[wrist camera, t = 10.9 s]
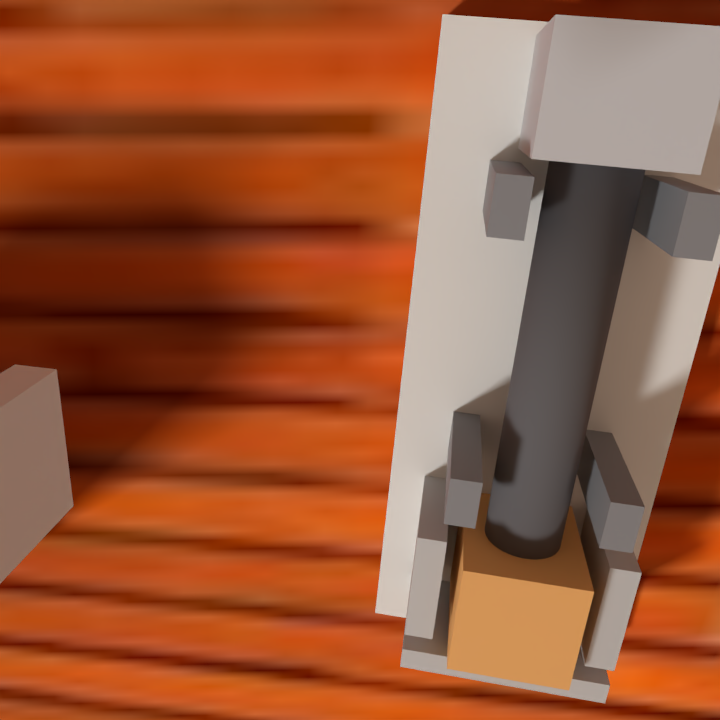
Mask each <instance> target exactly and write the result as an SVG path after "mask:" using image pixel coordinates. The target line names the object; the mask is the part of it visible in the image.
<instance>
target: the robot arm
mask: <svg viewBox="0 0 720 720" xmlns="http://www.w3.org/2000/svg"><path fill="white" fill-rule="evenodd" d="M73 506H74V505H73V497H72V489H71V481H70V473H69V464H68V456H67V448H66V440H65V432H64V424H63V416H62V408H61V400H60V392H59V384H58V376H57V369H50V368H41V367H32V366H24V365H13V366H12V367H10V368H8V369H7V370H5V371H3V372H2V373H0V583H1V582H2V581H3V580H4V579H5V578H6V577H7V576H8V575H9V574H10V573H11V572H12V570H13V569H14V568H15V567H16V566H17V565H18V564H19V563H20V562H21V561H22V560H23V559H24V558H25V557H26V556H27V555H28V554H29V553H30V551H31V550H32V549H33V548H34V547H35V546H36V545H37V544H38V543H39V542H40V541H41V540H42V539H43V538H44V537H45V536H46V535H47V533H48V532H49V531H50V530H51V529H52V528H53V527H54V526H55V525H56V524H57V523H58V522H59V521H60V520H61V519H62V518H63V517H64V515H65V514H66V513H67V512H68V511H69V510H70V509H71V508H72V507H73Z"/></svg>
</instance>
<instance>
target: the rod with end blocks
mask: <svg viewBox="0 0 720 720" xmlns="http://www.w3.org/2000/svg"><path fill="white" fill-rule="evenodd" d="M719 101H720V26H711V25H697V24H683V23H669V22H655V21H641V20H627V19H613V18H599V17H585V16H571V15H557V14H556V15H555V16H554V17H553V18H552V19H551V20H550V21H549V22H548V23H547V24H546V25H545V26H544V28H543V29H542V30H541V31H540V32H539V33H538V34H537V35H536V39H535V45H534V52H533V58H532V64H531V71H530V77H529V83H528V90H527V96H526V102H525V108H524V115H523V121H522V127H521V134H520V140H519V146H518V149H520V150H521V151H522V152H523V153H525V154H526V155H527V156H528V157H530V158H531V159H537V160H548V161H549V164H548V170H547V175H546V181H545V187H544V192H543V198H542V204H541V209H540V215H539V221H538V227H537V232H536V238H535V244H534V249H533V255H532V261H531V266H530V272H529V278H528V284H527V289H526V295H525V301H524V306H523V312H522V318H521V323H520V329H519V335H518V341H517V346H516V352H515V358H514V363H513V369H512V375H511V380H510V386H509V392H508V398H507V403H506V409H505V415H504V420H503V426H502V432H501V437H500V443H499V449H498V455H497V460H496V466H495V472H494V477H493V483H492V489H491V494H486V493H481V497H480V503H479V509H478V515H477V521H476V527H475V529H473V528H467V527H460V526H458V531H457V537H456V543H455V550H454V556H453V562H452V569H451V575H450V597H449V623H448V650H447V669H451V670H457V671H462V672H468V673H473V674H479V675H485V676H490V677H496V678H501V679H507V680H513V681H518V682H524V683H529V684H535V685H541V686H546V687H552V688H557V689H563V690H569V689H570V685H571V681H572V677H573V673H574V669H575V665H576V662H577V658H578V654H579V650H580V646H581V642H582V638H583V634H584V630H585V626H586V622H587V618H588V614H589V611H590V607H591V603H592V599H593V595H594V589H593V585H592V581H591V578H590V574H589V570H588V566H587V562H586V558H585V555H584V551H583V547H582V543H581V539H580V536H579V532H578V528H577V524H576V520H575V516H574V513H573V509H572V506H570V502H571V497H572V493H573V489H574V484H575V480H576V475H577V471H578V466H579V462H580V458H581V453H582V449H583V444H584V440H585V435H586V431H587V427H588V422H589V418H590V413H591V409H592V405H593V400H594V396H595V391H596V387H597V382H598V378H599V374H600V369H601V365H602V360H603V356H604V351H605V347H606V343H607V338H608V334H609V329H610V325H611V320H612V316H613V312H614V307H615V303H616V298H617V294H618V289H619V285H620V281H621V276H622V272H623V267H624V263H625V258H626V254H627V250H628V245H629V241H630V236H631V232H632V227H633V223H634V219H635V214H636V210H637V205H638V201H639V197H640V192H641V188H642V183H643V179H644V174H645V170H653V171H664V172H674V173H685V174H696V175H701V171H702V167H703V163H704V160H705V156H706V152H707V148H708V144H709V140H710V136H711V132H712V128H713V124H714V120H715V116H716V112H717V109H718V105H719Z"/></svg>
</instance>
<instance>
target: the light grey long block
mask: <svg viewBox="0 0 720 720" xmlns="http://www.w3.org/2000/svg"><path fill="white" fill-rule="evenodd" d="M547 23H548V22H544V21H530V20H516V19H502V18H489V17H475V16H461V15H447V14H443V15H442V24H441V33H440V42H439V51H438V60H437V68H436V77H435V86H434V95H433V104H432V113H431V122H430V131H429V140H428V148H427V157H426V166H425V175H424V184H423V193H422V202H421V211H420V220H419V228H418V237H417V246H416V255H415V264H414V273H413V282H412V291H411V300H410V309H409V317H408V326H407V335H406V344H405V353H404V362H403V371H402V380H401V389H400V397H399V406H398V415H397V424H396V433H395V442H394V451H393V460H392V469H391V477H390V486H389V495H388V504H387V513H386V522H385V531H384V540H383V549H382V557H381V566H380V575H379V584H378V593H377V602H376V611H375V613H380V614H386V615H392V616H398V617H403V618H406V623H405V631H404V640H403V648H402V656H401V664H400V667H405V668H411V669H417V670H422V671H428V672H433V673H439V674H444V675H450V676H456V677H461V678H467V679H472V680H478V681H483V682H489V683H495V684H500V685H506V686H511V687H517V688H522V689H528V690H534V691H539V692H545V693H550V694H556V695H561V696H567V697H573V698H578V699H584V700H589V701H595V702H600V703H605V701H606V698H607V694H608V691H609V687H610V684H609V679H608V675H607V671H606V670H611V671H614V670H615V666H616V663H617V659H618V655H619V652H620V648H621V645H622V641H623V638H624V634H625V631H626V627H627V624H628V620H629V617H630V613H631V609H632V606H633V602H634V599H635V595H636V592H637V588H638V585H639V581H640V578H641V574H642V572H641V570H640V567H639V564H638V562H637V560H638V557H639V553H640V550H641V546H642V542H643V539H644V535H645V532H646V528H647V524H648V521H649V517H650V514H651V510H652V506H653V503H654V499H655V496H656V492H657V488H658V485H659V481H660V478H661V474H662V470H663V467H664V463H665V460H666V456H667V452H668V449H669V445H670V442H671V438H672V434H673V431H674V427H675V424H676V420H677V416H678V413H679V409H680V406H681V402H682V398H683V395H684V391H685V388H686V384H687V380H688V377H689V373H690V370H691V366H692V362H693V359H694V355H695V352H696V348H697V344H698V341H699V337H700V334H701V330H702V326H703V323H704V319H705V316H706V312H707V308H708V305H709V301H710V298H711V294H712V290H713V287H714V283H715V280H716V276H717V272H718V269H719V265H720V101H719V105H718V109H717V112H716V116H715V120H714V124H713V128H712V132H711V136H710V140H709V144H708V148H707V152H706V156H705V160H704V163H703V167H702V171H701V175H696V174H685V173H674V172H664V171H653V170H645V174H644V179H643V183H642V188H641V192H640V197H639V201H638V205H637V210H636V214H635V219H634V223H633V227H632V232H631V236H630V241H629V245H628V250H627V254H626V258H625V263H624V267H623V272H622V276H621V281H620V285H619V289H618V294H617V298H616V303H615V307H614V312H613V316H612V320H611V325H610V329H609V334H608V338H607V343H606V347H605V351H604V356H603V360H602V365H601V369H600V374H599V378H598V382H597V387H596V391H595V396H594V400H593V405H592V409H591V413H590V418H589V422H588V427H587V431H586V435H585V440H584V444H583V449H582V453H581V458H580V462H579V466H578V471H577V475H576V480H575V484H574V489H573V493H572V497H571V502H570V506H572V509H573V513H574V516H575V520H576V524H577V528H578V532H579V536H580V539H581V543H582V547H583V551H584V555H585V558H586V562H587V566H588V570H589V574H590V578H591V581H592V585H593V589H594V595H593V599H592V603H591V607H590V611H589V614H588V618H587V622H586V626H585V630H584V634H583V638H582V642H581V646H580V650H579V654H578V658H577V662H576V665H575V669H574V673H573V677H572V681H571V685H570V689H569V690H563V689H557V688H552V687H546V686H541V685H535V684H529V683H524V682H518V681H513V680H507V679H501V678H496V677H490V676H485V675H479V674H473V673H468V672H462V671H457V670H451V669H447V650H448V623H449V597H450V575H451V569H452V562H453V556H454V550H455V543H456V537H457V531H458V526H460V527H467V528H473V529H475V527H476V521H477V515H478V509H479V503H480V497H481V493H486V494H491V489H492V483H493V477H494V472H495V466H496V460H497V455H498V449H499V443H500V437H501V432H502V426H503V420H504V415H505V409H506V403H507V398H508V392H509V386H510V380H511V375H512V369H513V363H514V358H515V352H516V346H517V341H518V335H519V329H520V323H521V318H522V312H523V306H524V301H525V295H526V289H527V284H528V278H529V272H530V266H531V261H532V255H533V249H534V244H535V238H536V232H537V227H538V221H539V215H540V209H541V204H542V198H543V192H544V187H545V181H546V175H547V170H548V164H549V161H548V160H537V159H531V158H530V157H528V156H527V155H526V154H525V153H523V152H522V151H521V150H520V149H518V146H519V140H520V134H521V127H522V121H523V115H524V108H525V102H526V96H527V90H528V83H529V77H530V71H531V64H532V58H533V52H534V45H535V39H536V35H537V34H538V33H539V32H540V31H541V30H542V29H543V28H544V26H545V25H546V24H547Z"/></svg>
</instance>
